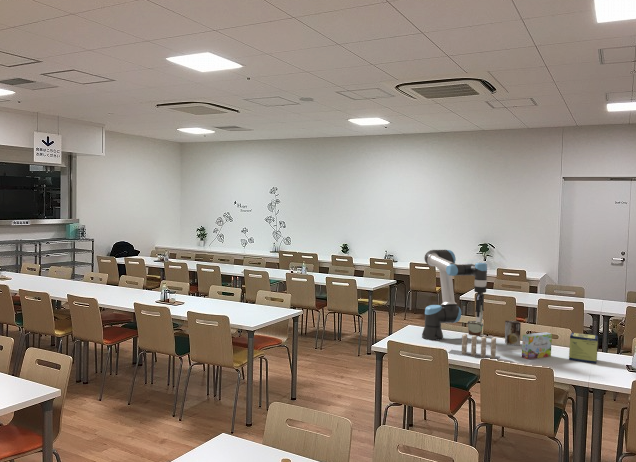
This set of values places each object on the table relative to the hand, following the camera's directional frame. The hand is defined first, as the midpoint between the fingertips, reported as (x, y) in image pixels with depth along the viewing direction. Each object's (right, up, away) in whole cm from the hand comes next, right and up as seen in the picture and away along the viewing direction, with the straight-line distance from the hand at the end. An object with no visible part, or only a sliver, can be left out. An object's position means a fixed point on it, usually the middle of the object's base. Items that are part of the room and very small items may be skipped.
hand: (479, 321), depth 349 cm
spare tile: (0, -2, 0) cm, 2 cm away
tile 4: (-13, -19, -11) cm, 25 cm away
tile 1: (+3, -20, -20) cm, 28 cm away
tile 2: (-3, -19, -17) cm, 26 cm away
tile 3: (-8, -19, -14) cm, 25 cm away
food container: (+12, -19, +45) cm, 50 cm away
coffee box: (+29, -20, +18) cm, 39 cm away
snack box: (+32, -21, -14) cm, 41 cm away
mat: (-8, -20, -14) cm, 25 cm away
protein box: (+60, -22, -18) cm, 66 cm away
